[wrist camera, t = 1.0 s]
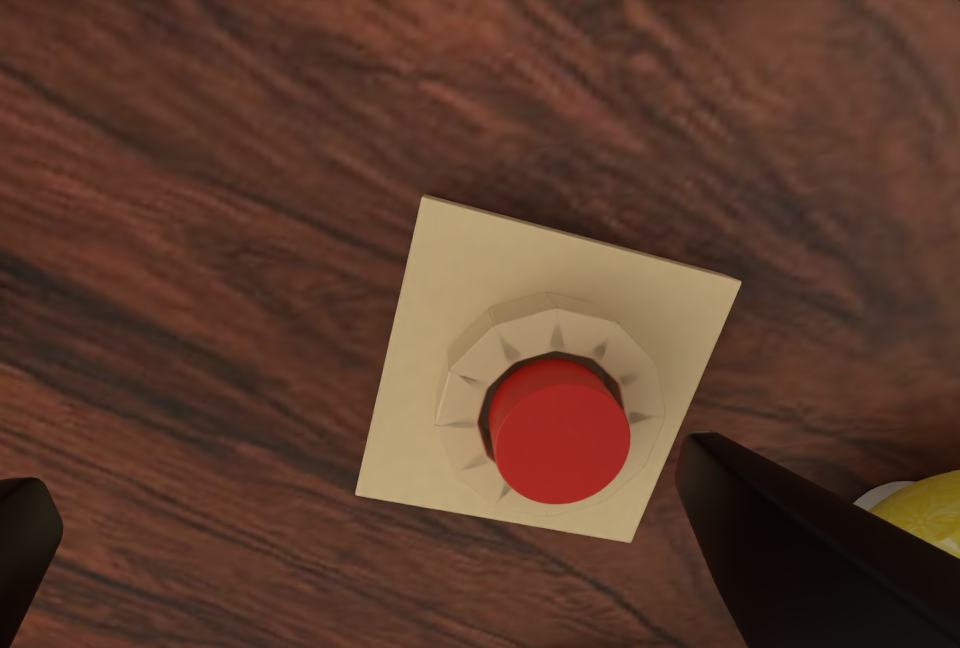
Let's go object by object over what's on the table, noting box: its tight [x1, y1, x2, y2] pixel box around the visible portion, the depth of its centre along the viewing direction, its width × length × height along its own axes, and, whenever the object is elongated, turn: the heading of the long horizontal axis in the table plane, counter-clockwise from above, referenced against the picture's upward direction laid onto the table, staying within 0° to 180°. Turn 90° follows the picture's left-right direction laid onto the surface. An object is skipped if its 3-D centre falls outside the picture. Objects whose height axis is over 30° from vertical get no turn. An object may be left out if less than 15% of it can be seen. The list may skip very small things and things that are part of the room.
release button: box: [488, 358, 631, 504], centre depth 14 cm, size 4×4×2 cm
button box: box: [355, 194, 742, 543], centre depth 16 cm, size 10×10×3 cm
